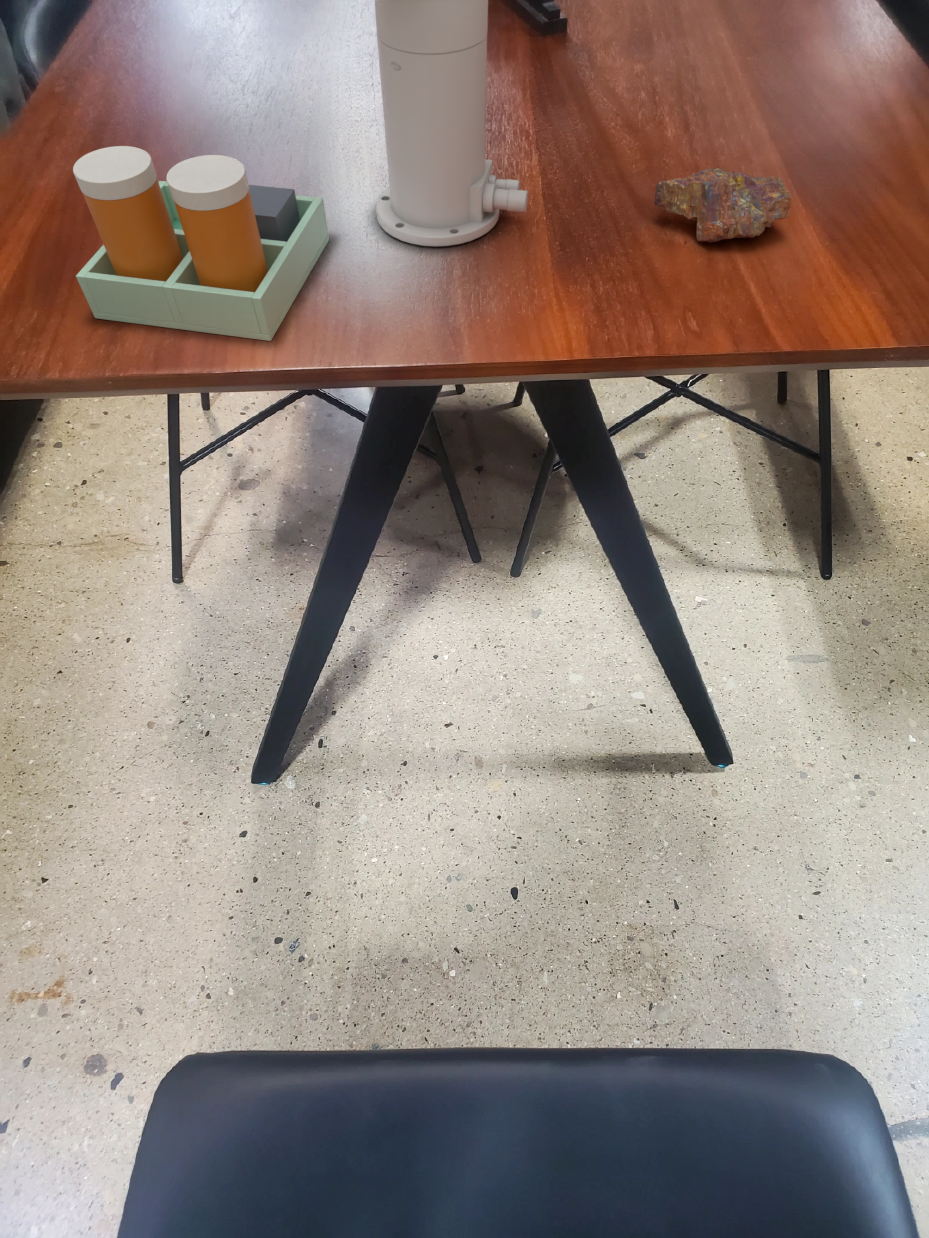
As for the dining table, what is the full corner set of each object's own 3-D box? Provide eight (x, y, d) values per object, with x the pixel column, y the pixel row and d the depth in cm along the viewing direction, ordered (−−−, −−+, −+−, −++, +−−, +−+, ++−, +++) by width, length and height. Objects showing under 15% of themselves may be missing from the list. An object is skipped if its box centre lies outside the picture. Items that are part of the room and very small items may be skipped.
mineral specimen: (681, 247, 71) (681, 164, 68) (650, 251, 78) (649, 176, 75) (800, 231, 72) (805, 149, 70) (759, 236, 79) (762, 162, 76)
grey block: (304, 242, 74) (294, 189, 70) (287, 270, 71) (275, 217, 67) (256, 236, 75) (243, 184, 70) (237, 264, 72) (223, 211, 68)
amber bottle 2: (283, 285, 70) (256, 158, 61) (260, 324, 66) (227, 196, 57) (222, 278, 71) (185, 151, 62) (195, 316, 67) (152, 188, 58)
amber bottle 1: (202, 275, 71) (163, 149, 62) (175, 313, 67) (130, 186, 58) (142, 268, 72) (95, 142, 62) (112, 305, 68) (58, 178, 59)
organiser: (329, 239, 75) (323, 197, 72) (271, 341, 66) (260, 298, 63) (172, 222, 77) (159, 180, 74) (94, 318, 68) (75, 276, 65)
